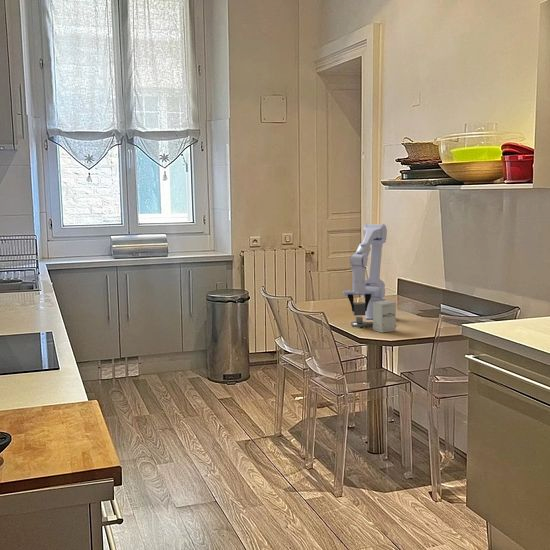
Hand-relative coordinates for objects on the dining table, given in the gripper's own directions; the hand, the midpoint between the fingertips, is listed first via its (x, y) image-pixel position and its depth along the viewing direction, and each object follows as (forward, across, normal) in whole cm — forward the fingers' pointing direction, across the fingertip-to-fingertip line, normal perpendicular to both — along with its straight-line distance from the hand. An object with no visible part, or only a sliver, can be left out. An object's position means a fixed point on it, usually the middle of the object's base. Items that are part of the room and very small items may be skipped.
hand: (359, 311), depth 315 cm
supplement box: (+7, +10, -10) cm, 16 cm away
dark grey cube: (+2, 0, 0) cm, 2 cm away
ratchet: (+7, +6, 0) cm, 9 cm away
